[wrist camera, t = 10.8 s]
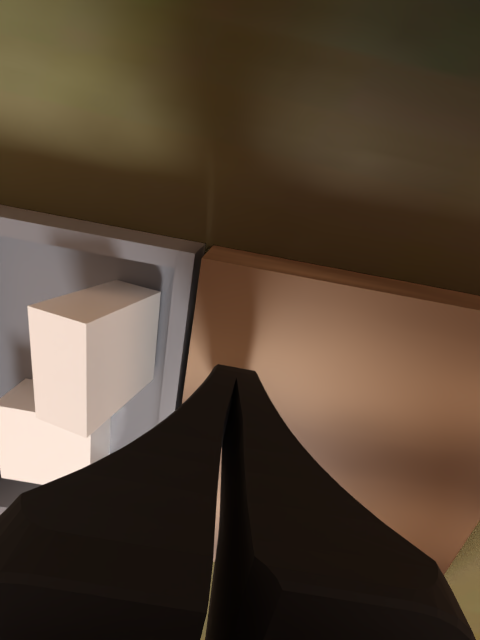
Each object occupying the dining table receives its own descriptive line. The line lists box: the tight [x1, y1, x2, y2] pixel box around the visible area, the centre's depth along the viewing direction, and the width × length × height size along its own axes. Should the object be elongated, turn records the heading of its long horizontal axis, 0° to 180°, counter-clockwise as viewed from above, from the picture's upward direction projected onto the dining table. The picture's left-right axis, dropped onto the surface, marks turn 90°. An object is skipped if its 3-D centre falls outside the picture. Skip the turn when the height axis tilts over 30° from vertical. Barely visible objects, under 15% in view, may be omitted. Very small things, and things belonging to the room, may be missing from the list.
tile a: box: [0, 379, 111, 485], centre depth 14 cm, size 4×4×2 cm
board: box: [182, 245, 480, 575], centre depth 14 cm, size 14×13×3 cm
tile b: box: [27, 280, 161, 438], centre depth 11 cm, size 4×4×2 cm
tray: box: [0, 205, 206, 515], centre depth 14 cm, size 14×10×2 cm
